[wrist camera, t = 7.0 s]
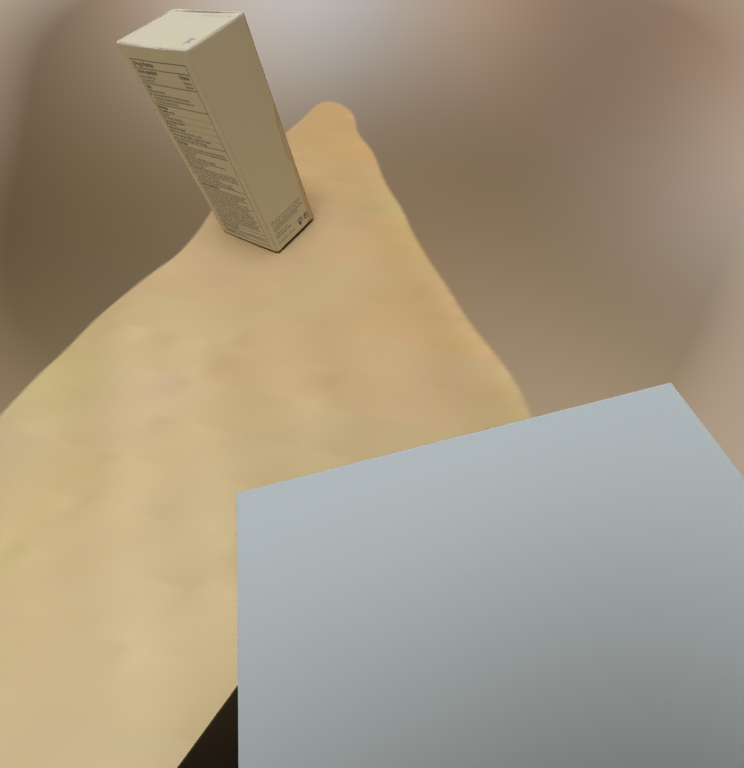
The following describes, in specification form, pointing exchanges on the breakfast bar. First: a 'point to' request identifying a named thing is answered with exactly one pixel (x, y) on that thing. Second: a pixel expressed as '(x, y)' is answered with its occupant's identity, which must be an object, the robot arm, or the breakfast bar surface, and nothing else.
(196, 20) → the skincare box
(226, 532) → the breakfast bar surface
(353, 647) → the pillar
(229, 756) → the robot arm
